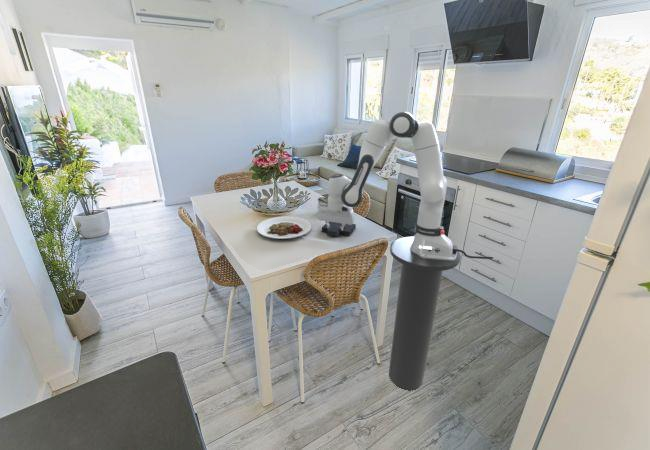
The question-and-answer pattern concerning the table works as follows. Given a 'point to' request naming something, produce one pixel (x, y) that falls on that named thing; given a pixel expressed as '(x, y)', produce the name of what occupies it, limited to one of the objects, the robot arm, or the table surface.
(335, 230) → the grey pad
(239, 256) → the table surface
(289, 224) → the plated food
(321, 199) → the food container
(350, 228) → the black pad
